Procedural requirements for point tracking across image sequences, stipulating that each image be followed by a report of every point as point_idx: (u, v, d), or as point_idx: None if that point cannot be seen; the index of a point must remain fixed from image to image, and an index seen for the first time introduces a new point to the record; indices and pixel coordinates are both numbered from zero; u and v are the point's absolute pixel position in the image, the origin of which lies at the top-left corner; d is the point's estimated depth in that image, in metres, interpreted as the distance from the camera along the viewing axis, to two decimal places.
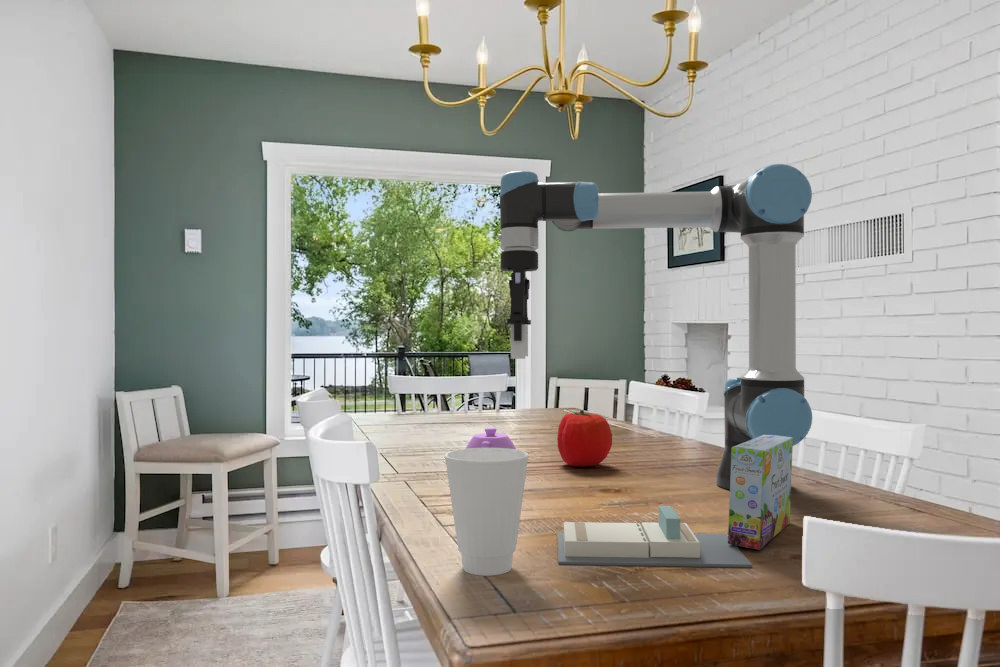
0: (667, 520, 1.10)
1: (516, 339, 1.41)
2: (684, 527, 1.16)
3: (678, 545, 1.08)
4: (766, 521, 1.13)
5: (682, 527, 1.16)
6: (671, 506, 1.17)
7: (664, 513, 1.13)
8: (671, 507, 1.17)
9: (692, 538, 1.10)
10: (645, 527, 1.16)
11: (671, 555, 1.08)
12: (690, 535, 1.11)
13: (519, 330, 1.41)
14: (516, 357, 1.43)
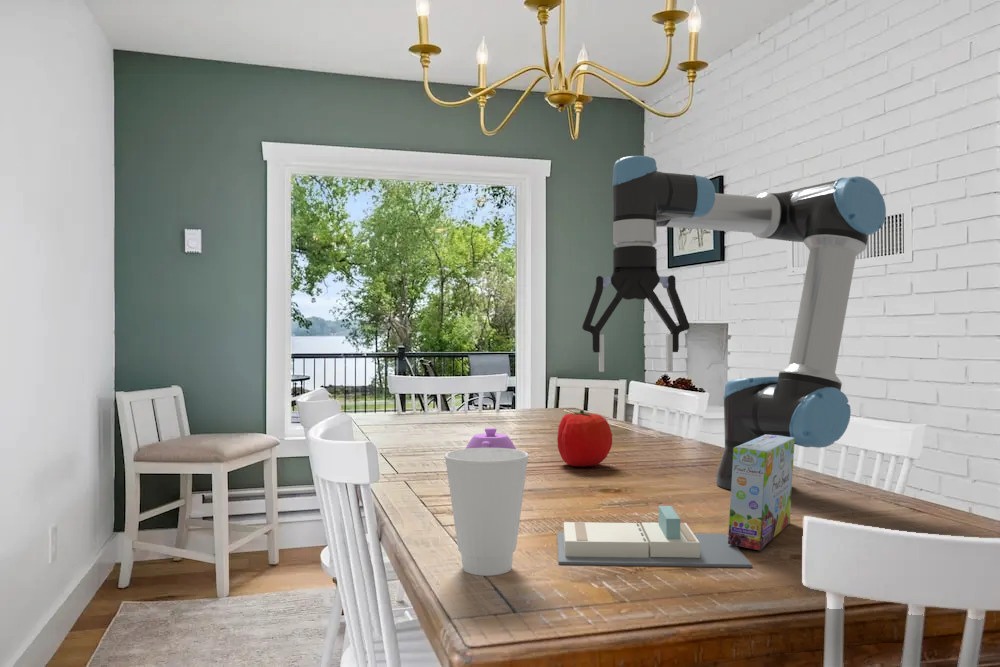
0: (667, 520, 1.10)
1: (593, 350, 1.33)
2: (684, 527, 1.16)
3: (678, 545, 1.08)
4: (767, 522, 1.13)
5: (682, 527, 1.16)
6: (671, 506, 1.17)
7: (664, 513, 1.13)
8: (671, 507, 1.17)
9: (692, 538, 1.10)
10: (645, 527, 1.16)
11: (671, 555, 1.08)
12: (690, 535, 1.11)
13: None
14: (599, 370, 1.33)
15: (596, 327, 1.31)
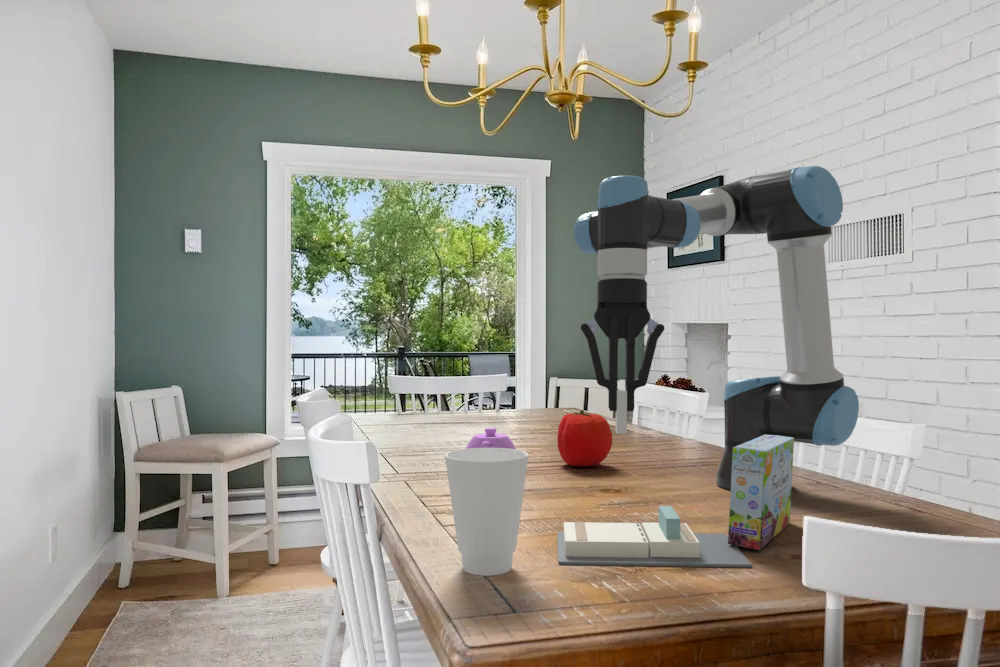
0: (667, 520, 1.10)
1: (609, 408, 1.15)
2: (684, 527, 1.16)
3: (678, 545, 1.08)
4: (766, 522, 1.13)
5: (682, 527, 1.16)
6: (671, 506, 1.17)
7: (664, 513, 1.13)
8: (671, 507, 1.17)
9: (692, 538, 1.10)
10: (645, 527, 1.16)
11: (671, 555, 1.08)
12: (690, 535, 1.11)
13: None
14: None
15: (611, 383, 1.14)
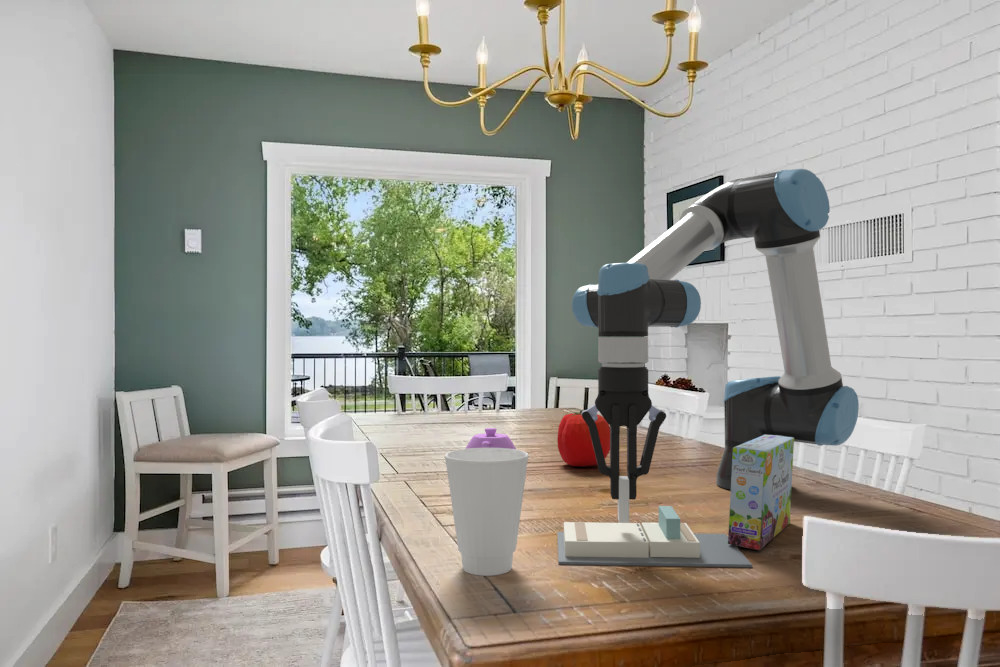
0: (667, 520, 1.10)
1: None
2: (684, 527, 1.16)
3: (678, 545, 1.08)
4: (766, 522, 1.13)
5: (682, 527, 1.16)
6: (671, 506, 1.17)
7: (664, 513, 1.13)
8: (671, 507, 1.17)
9: (692, 538, 1.10)
10: (645, 527, 1.16)
11: (671, 555, 1.08)
12: (690, 535, 1.11)
13: (610, 485, 1.14)
14: (618, 518, 1.14)
15: (613, 471, 1.13)
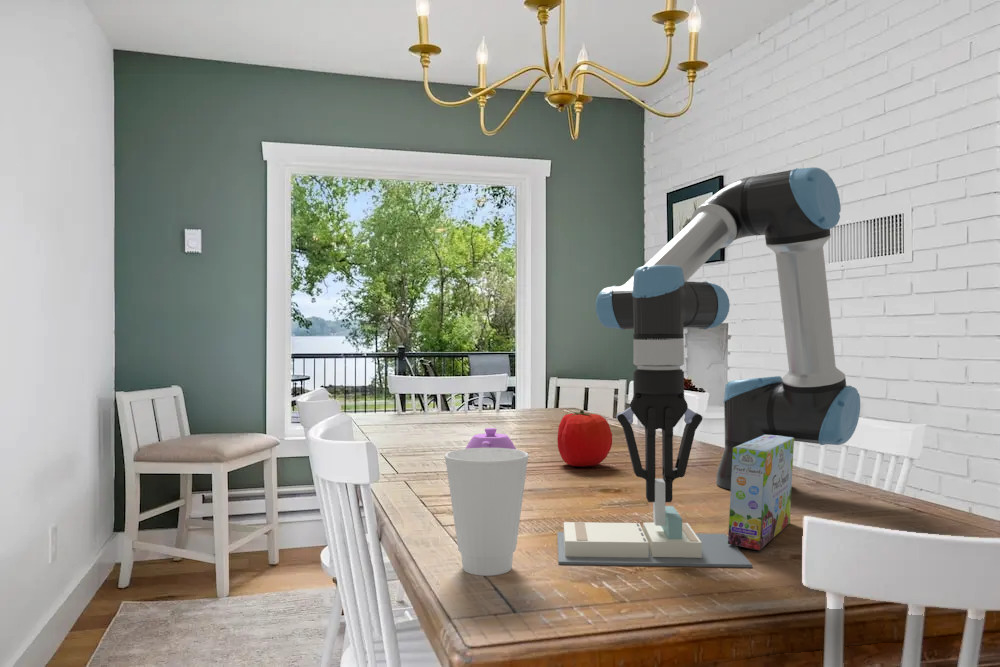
0: (669, 520, 1.10)
1: None
2: (686, 527, 1.16)
3: (679, 545, 1.08)
4: (766, 522, 1.13)
5: (684, 527, 1.16)
6: None
7: (666, 513, 1.13)
8: (673, 507, 1.17)
9: (694, 538, 1.10)
10: (647, 527, 1.16)
11: (673, 555, 1.08)
12: (692, 535, 1.11)
13: (646, 488, 1.14)
14: (654, 521, 1.14)
15: (649, 474, 1.13)
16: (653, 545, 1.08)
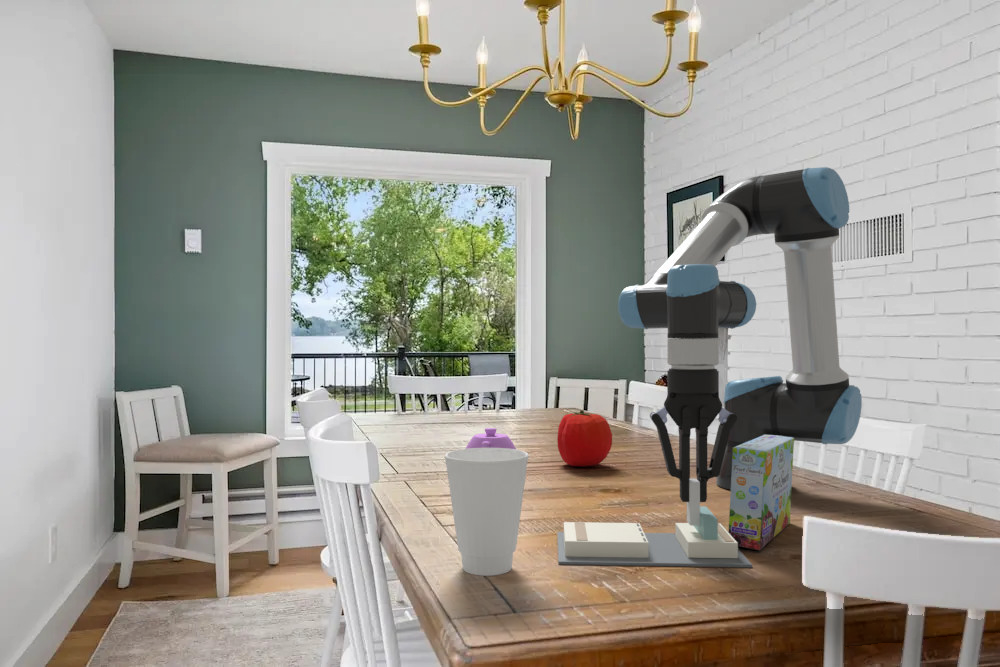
0: (704, 520, 1.09)
1: None
2: (719, 527, 1.15)
3: (715, 546, 1.08)
4: (766, 522, 1.13)
5: (717, 527, 1.15)
6: None
7: (700, 513, 1.12)
8: (706, 507, 1.16)
9: (729, 539, 1.09)
10: (680, 527, 1.16)
11: (709, 556, 1.08)
12: (727, 535, 1.11)
13: (680, 488, 1.13)
14: (688, 521, 1.14)
15: (683, 474, 1.12)
16: (689, 545, 1.08)
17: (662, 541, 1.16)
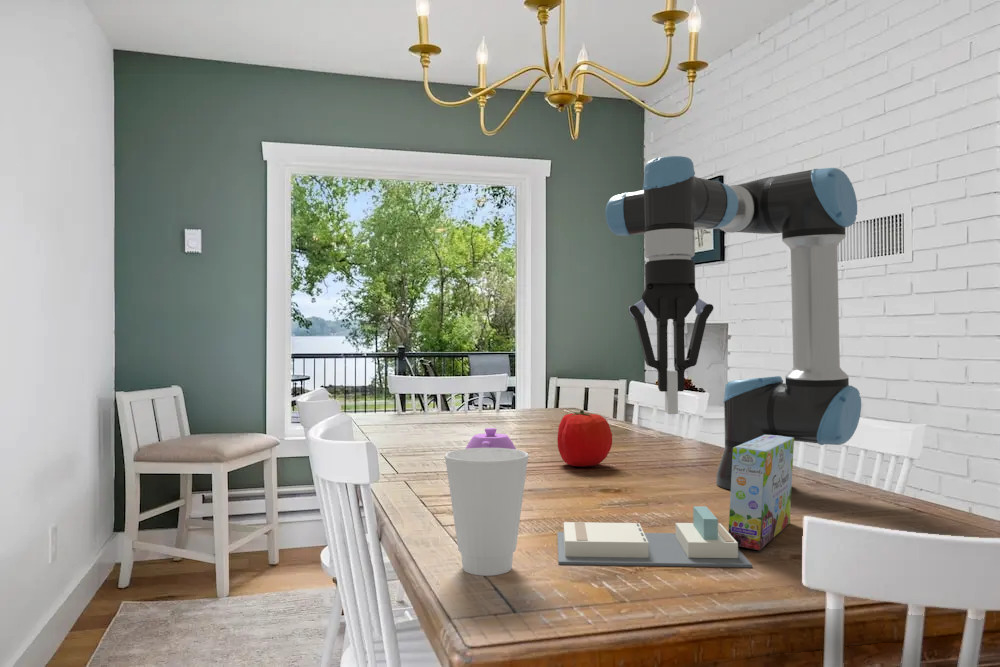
0: (704, 520, 1.09)
1: (659, 389, 1.16)
2: (719, 527, 1.15)
3: (715, 546, 1.08)
4: (766, 522, 1.13)
5: (717, 527, 1.15)
6: None
7: (700, 513, 1.12)
8: (706, 507, 1.16)
9: (729, 539, 1.09)
10: (680, 527, 1.16)
11: (709, 556, 1.08)
12: (727, 535, 1.11)
13: (658, 378, 1.15)
14: (666, 411, 1.16)
15: (661, 363, 1.15)
16: (689, 545, 1.08)
17: (662, 541, 1.16)
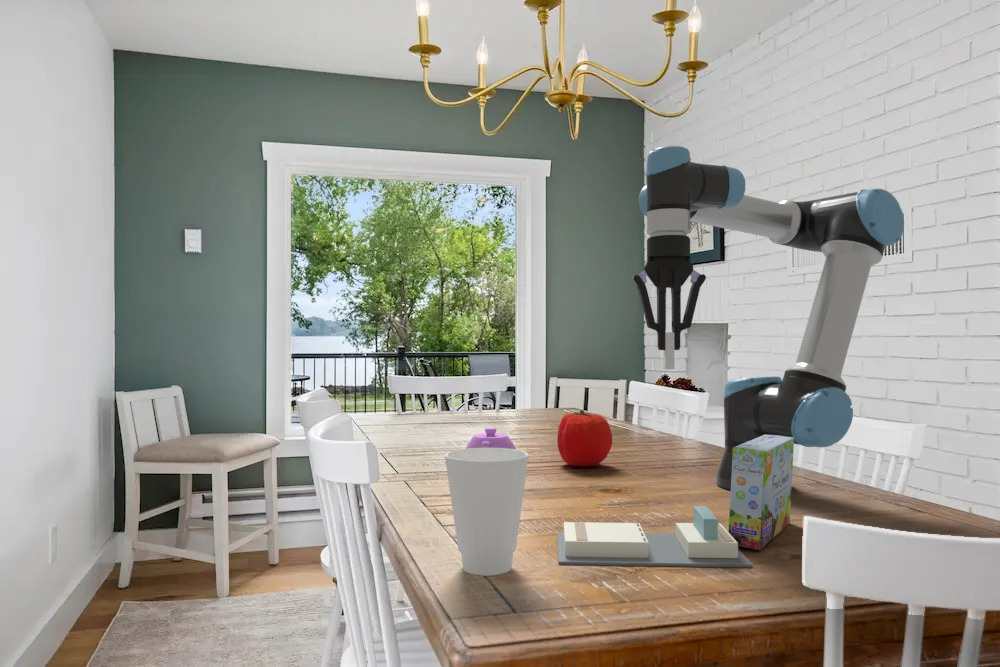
0: (704, 520, 1.09)
1: (658, 348, 1.34)
2: (719, 527, 1.15)
3: (715, 546, 1.08)
4: (766, 522, 1.13)
5: (717, 527, 1.15)
6: None
7: (700, 513, 1.12)
8: (706, 507, 1.16)
9: (729, 539, 1.09)
10: (680, 527, 1.16)
11: (709, 556, 1.08)
12: (727, 535, 1.11)
13: (658, 338, 1.33)
14: (664, 367, 1.34)
15: (660, 325, 1.32)
16: (689, 545, 1.08)
17: (662, 541, 1.16)
